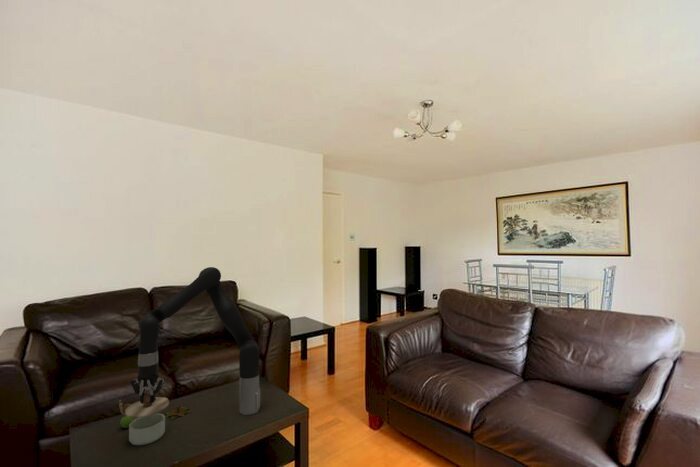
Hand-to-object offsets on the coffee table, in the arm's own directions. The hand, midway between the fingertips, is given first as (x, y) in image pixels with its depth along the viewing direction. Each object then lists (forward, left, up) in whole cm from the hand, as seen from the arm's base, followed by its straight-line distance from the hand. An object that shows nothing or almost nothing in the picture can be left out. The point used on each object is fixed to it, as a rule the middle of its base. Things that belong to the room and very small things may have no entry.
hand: (147, 402), depth 141 cm
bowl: (0, 0, -14) cm, 14 cm away
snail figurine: (+14, -8, -15) cm, 22 cm away
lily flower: (-4, -19, -15) cm, 25 cm away
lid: (0, 0, -2) cm, 2 cm away
